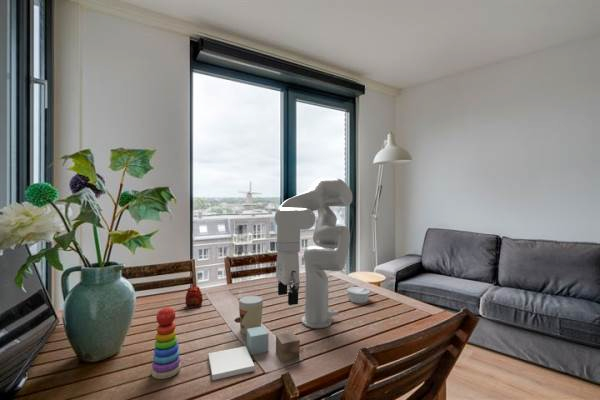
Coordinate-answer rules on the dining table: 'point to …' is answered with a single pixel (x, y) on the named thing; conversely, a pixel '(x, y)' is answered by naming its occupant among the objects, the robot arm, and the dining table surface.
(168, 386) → the dining table surface
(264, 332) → the teal block
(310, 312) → the robot arm
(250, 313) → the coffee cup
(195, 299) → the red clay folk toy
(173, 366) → the stacking toy
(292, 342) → the walnut block
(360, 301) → the ramekin
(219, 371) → the base board
